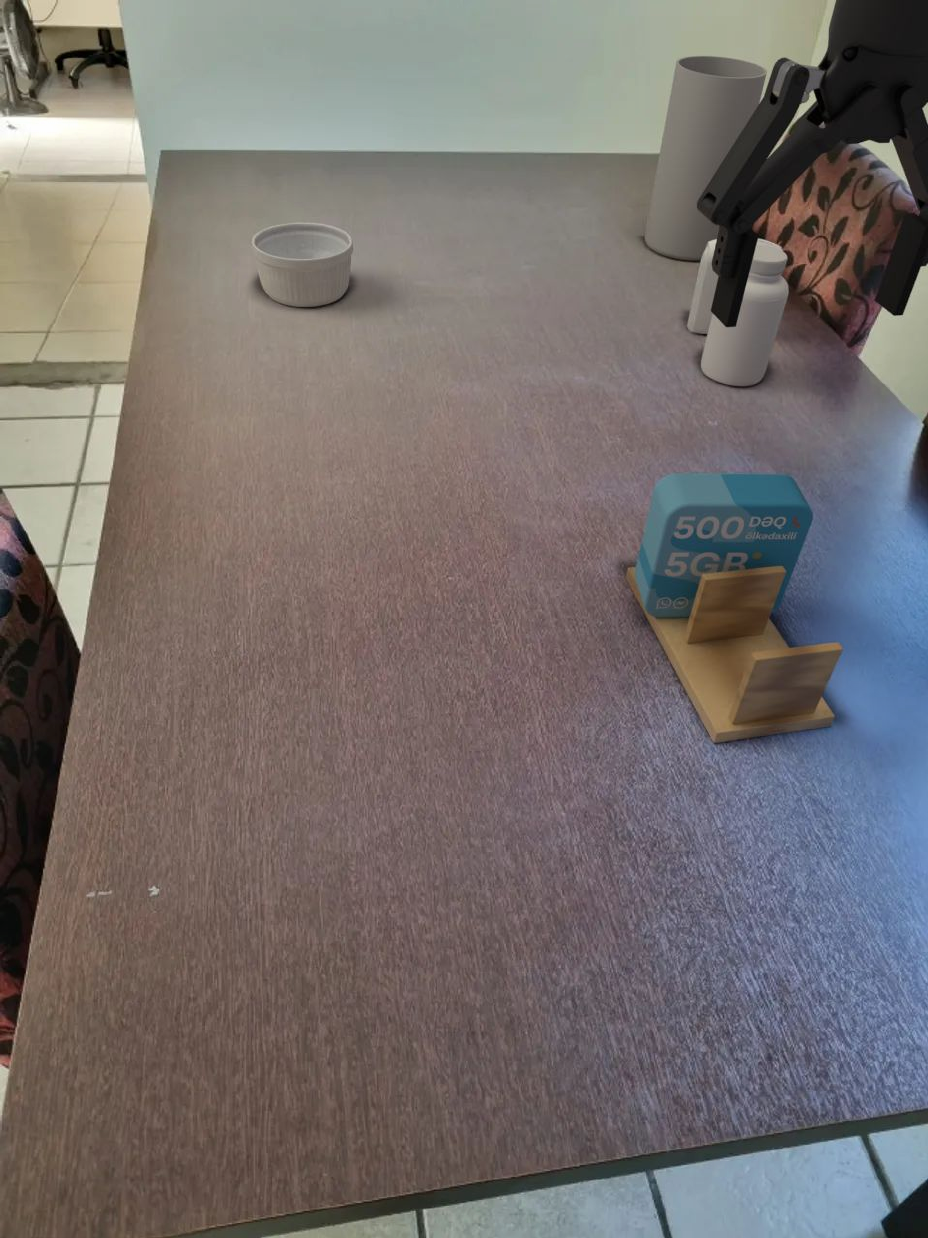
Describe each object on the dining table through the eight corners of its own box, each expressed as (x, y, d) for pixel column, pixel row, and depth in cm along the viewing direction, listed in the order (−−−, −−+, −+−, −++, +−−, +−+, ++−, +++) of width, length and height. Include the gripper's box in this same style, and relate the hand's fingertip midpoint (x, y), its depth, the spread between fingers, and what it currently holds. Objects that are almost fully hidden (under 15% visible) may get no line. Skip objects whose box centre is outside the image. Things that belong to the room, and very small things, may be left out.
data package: (641, 618, 80) (669, 504, 72) (630, 584, 84) (656, 471, 76) (776, 618, 81) (819, 505, 73) (761, 584, 85) (800, 472, 77)
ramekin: (238, 300, 125) (232, 248, 120) (283, 265, 134) (279, 215, 129) (329, 319, 122) (327, 266, 117) (369, 281, 131) (368, 231, 127)
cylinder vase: (725, 266, 142) (770, 81, 126) (642, 257, 144) (676, 72, 127) (721, 236, 152) (763, 60, 135) (644, 227, 153) (675, 52, 136)
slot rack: (725, 567, 88) (747, 495, 83) (830, 726, 74) (866, 652, 68) (625, 577, 86) (641, 504, 81) (713, 743, 72) (740, 668, 66)
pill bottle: (771, 369, 118) (807, 250, 108) (752, 395, 113) (787, 272, 103) (711, 351, 121) (741, 233, 111) (690, 375, 116) (719, 254, 106)
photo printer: (687, 335, 124) (708, 241, 116) (684, 320, 128) (705, 228, 119) (765, 342, 124) (792, 248, 116) (760, 327, 127) (786, 235, 119)
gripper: (1049, -40, 60) (925, 283, 75) (690, -46, 55) (631, 301, 70) (1135, -19, 55) (984, 324, 69) (746, -23, 50) (670, 347, 64)
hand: (807, 313), depth 70 cm, fingers open, 13 cm apart
